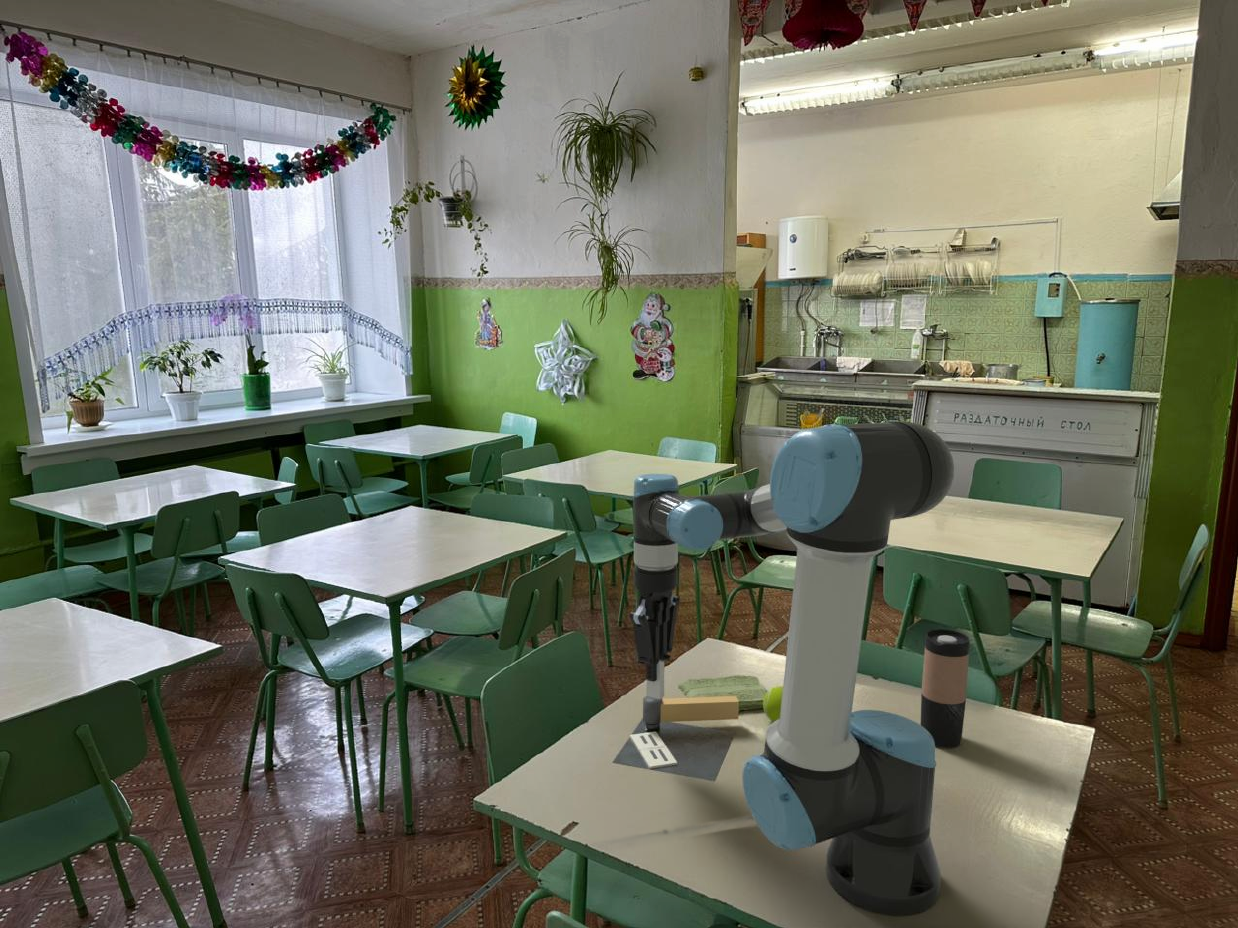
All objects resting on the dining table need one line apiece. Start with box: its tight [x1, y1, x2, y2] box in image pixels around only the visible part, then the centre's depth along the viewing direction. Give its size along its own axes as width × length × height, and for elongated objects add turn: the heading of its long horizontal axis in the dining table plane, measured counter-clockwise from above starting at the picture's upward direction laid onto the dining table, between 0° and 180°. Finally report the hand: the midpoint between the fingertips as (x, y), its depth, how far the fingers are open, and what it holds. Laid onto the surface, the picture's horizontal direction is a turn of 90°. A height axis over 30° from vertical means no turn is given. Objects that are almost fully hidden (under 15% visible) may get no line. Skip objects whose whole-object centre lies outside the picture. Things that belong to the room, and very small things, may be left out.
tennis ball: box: [762, 685, 783, 723], centre depth 161 cm, size 7×7×7 cm
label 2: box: [640, 746, 677, 770], centre depth 146 cm, size 6×5×1 cm
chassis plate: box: [612, 717, 736, 782], centre depth 150 cm, size 18×18×3 cm
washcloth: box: [677, 674, 769, 712], centre depth 171 cm, size 13×18×3 cm
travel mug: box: [920, 628, 971, 749], centre depth 153 cm, size 8×8×20 cm
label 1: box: [629, 731, 666, 753], centre depth 151 cm, size 6×5×1 cm
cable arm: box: [642, 695, 740, 724], centre depth 156 cm, size 18×4×4 cm, turn 95°
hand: (655, 695), depth 146 cm, fingers closed
